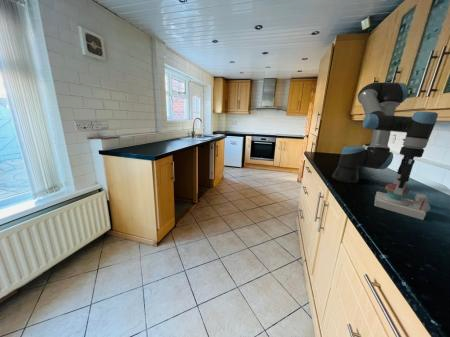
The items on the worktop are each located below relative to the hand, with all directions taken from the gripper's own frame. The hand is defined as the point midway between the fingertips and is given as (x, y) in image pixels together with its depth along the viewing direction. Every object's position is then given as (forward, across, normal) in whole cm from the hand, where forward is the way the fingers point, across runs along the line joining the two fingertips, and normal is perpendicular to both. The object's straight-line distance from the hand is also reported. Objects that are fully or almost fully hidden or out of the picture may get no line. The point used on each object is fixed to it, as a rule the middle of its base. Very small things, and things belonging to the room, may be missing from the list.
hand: (396, 190), depth 89 cm
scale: (+8, 0, +2) cm, 8 cm away
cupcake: (+4, 0, 0) cm, 4 cm away
